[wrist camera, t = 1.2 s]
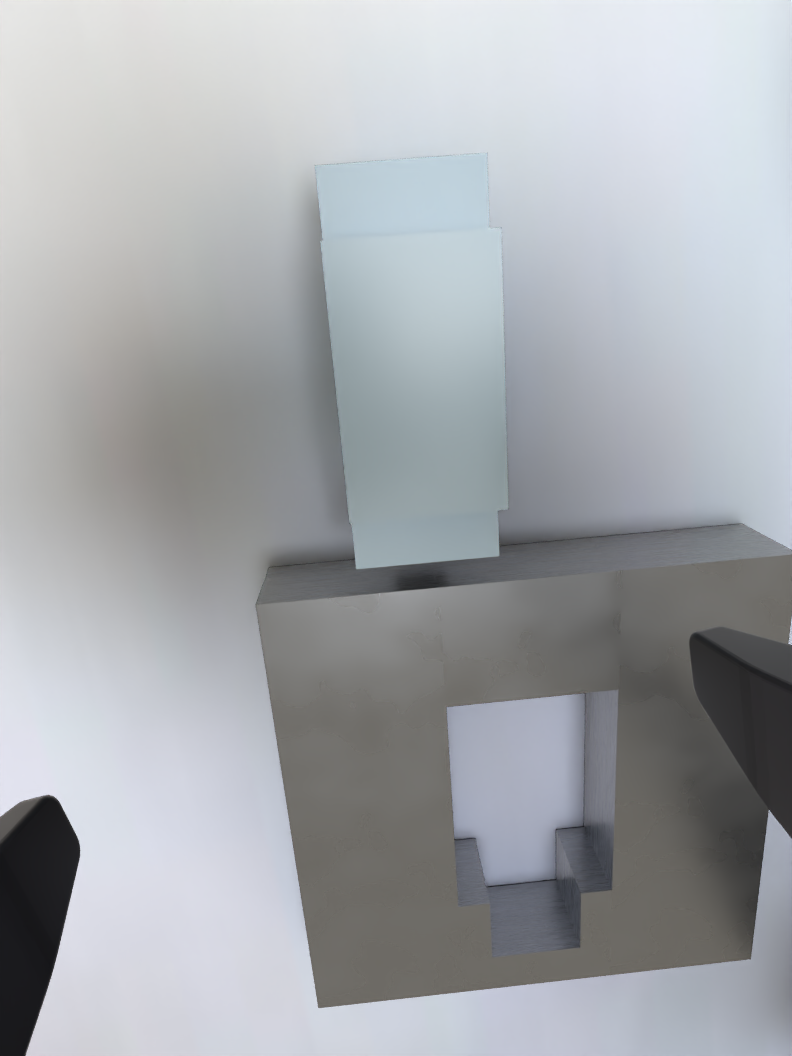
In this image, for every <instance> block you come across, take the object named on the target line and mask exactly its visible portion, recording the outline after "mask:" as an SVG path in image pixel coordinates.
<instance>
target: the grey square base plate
mask: <svg viewBox="0 0 792 1056" xmlns="http://www.w3.org/2000/svg"><path fill="white" fill-rule="evenodd" d="M256 610H257V616H258V623H259V629H260V636H261V642H262V649H263V655H264V661H265V668H266V674H267V681H268V687H269V694H270V700H271V706H272V713H273V719H274V726H275V732H276V739H277V745H278V751H279V758H280V764H281V771H282V777H283V784H284V790H285V796H286V803H287V809H288V816H289V822H290V829H291V835H292V841H293V848H294V854H295V861H296V867H297V873H298V880H299V886H300V893H301V899H302V906H303V912H304V918H305V925H306V931H307V938H308V944H309V951H310V957H311V963H312V970H313V976H314V983H315V989H316V996H317V1002H318V1008H324V1007H333V1006H342V1005H350V1004H359V1003H368V1002H377V1001H386V1000H395V999H403V998H412V997H421V996H430V995H439V994H447V993H456V992H465V991H474V990H483V989H491V988H500V987H509V986H518V985H527V984H535V983H544V982H553V981H562V980H571V979H580V978H588V977H597V976H606V975H615V974H624V973H632V972H641V971H650V970H659V969H668V968H676V967H685V966H694V965H703V964H712V963H720V962H729V961H738V960H747V959H751V952H752V944H753V936H754V927H755V919H756V910H757V902H758V894H759V885H760V877H761V868H762V860H763V852H764V843H765V835H766V826H767V818H768V810H769V809H768V807H767V806H766V805H765V803H764V802H763V801H762V799H761V798H760V797H759V795H758V794H757V792H756V791H755V789H754V788H753V786H752V785H751V783H750V782H749V780H748V779H747V777H746V775H745V774H744V772H743V771H742V769H741V767H740V766H739V764H738V763H737V761H736V759H735V758H734V756H733V754H732V753H731V751H730V750H729V748H728V746H727V745H726V743H725V742H724V740H723V738H722V737H721V735H720V734H719V732H718V730H717V729H716V727H715V726H714V724H713V722H712V721H711V719H710V718H709V716H708V714H707V713H706V711H705V710H704V708H703V706H702V705H701V703H700V701H699V699H698V697H697V695H696V692H695V689H694V684H693V676H692V667H691V658H690V649H689V639H690V636H691V634H692V633H694V632H696V631H700V630H704V629H708V628H712V627H716V626H723V627H727V628H731V629H734V630H738V631H742V632H746V633H749V634H753V635H757V636H760V637H764V638H768V639H771V640H775V641H779V642H782V643H786V644H788V642H789V633H790V625H791V616H792V550H791V549H789V548H787V547H785V546H783V545H781V544H780V543H778V542H776V541H774V540H772V539H770V538H768V537H766V536H764V535H763V534H761V533H759V532H757V531H755V530H753V529H751V528H749V527H747V526H746V525H744V524H733V525H722V526H711V527H701V528H690V529H679V530H668V531H657V532H646V533H635V534H625V535H614V536H603V537H592V538H581V539H570V540H560V541H549V542H538V543H527V544H516V545H505V546H499V556H496V557H485V558H474V559H464V560H453V561H442V562H431V563H420V564H409V565H398V566H388V567H377V568H366V569H356V562H355V559H354V560H343V561H332V562H321V563H310V564H299V565H288V566H278V567H269V568H268V571H267V574H266V577H265V580H264V583H263V585H262V588H261V591H260V594H259V597H258V600H257V603H256ZM581 693H586V702H585V776H584V827H578V828H568V829H559V830H556V880H551V881H541V882H532V883H523V884H514V885H505V886H495V887H486V884H485V880H484V875H483V871H482V867H481V862H480V858H479V854H478V849H477V845H476V840H475V838H474V839H465V840H455V841H454V827H453V810H452V794H451V778H450V762H449V745H448V729H447V713H446V707H451V706H461V705H471V704H481V703H491V702H501V701H511V700H521V699H531V698H541V697H551V696H561V695H571V694H581Z"/></svg>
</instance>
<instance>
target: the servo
mask: <svg viewBox="0 0 792 1056" xmlns="http://www.w3.org/2000/svg"><path fill="white" fill-rule="evenodd" d="M315 171H316V181H317V191H318V201H319V210H320V220H321V230H322V240H323V241H320V244H321V253H322V263H323V273H324V282H325V292H326V302H327V311H328V321H329V331H330V340H331V350H332V360H333V369H334V379H335V389H336V398H337V408H338V418H339V427H340V437H341V447H342V456H343V466H344V476H345V485H346V495H347V505H348V514H349V524H352V533H353V543H354V552H355V562H356V569H366V568H377V567H388V566H398V565H409V564H420V563H431V562H442V561H453V560H464V559H474V558H485V557H496V556H499V525H498V510H507V509H509V507H508V468H507V428H506V388H505V348H504V308H503V269H502V229H501V227H497V228H490V227H489V194H488V161H487V153H477V154H463V155H449V156H436V157H422V158H409V159H395V160H381V161H368V162H354V163H341V164H327V165H315Z"/></svg>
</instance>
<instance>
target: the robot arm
mask: <svg viewBox="0 0 792 1056" xmlns="http://www.w3.org/2000/svg"><path fill="white" fill-rule="evenodd" d="M689 649H690V658H691V667H692V676H693V684H694V689H695V692H696V695H697V697H698V699H699V701H700V703H701V705H702V706H703V708H704V710H705V711H706V713H707V714H708V716H709V718H710V719H711V721H712V722H713V724H714V726H715V727H716V729H717V730H718V732H719V734H720V735H721V737H722V738H723V740H724V742H725V743H726V745H727V746H728V748H729V750H730V751H731V753H732V754H733V756H734V758H735V759H736V761H737V763H738V764H739V766H740V767H741V769H742V771H743V772H744V774H745V775H746V777H747V779H748V780H749V782H750V783H751V785H752V786H753V788H754V789H755V791H756V792H757V794H758V795H759V797H760V798H761V799H762V801H763V802H764V803H765V805H766V806H767V807H768V809H769V810H770V811H771V813H772V814H773V815H774V816H775V818H776V819H777V820H778V822H779V823H780V824H781V825H782V827H783V828H784V829H785V831H786V832H787V833H788V834H789V836H790V837H791V838H792V645H790V644H786V643H782V642H779V641H775V640H771V639H768V638H764V637H760V636H757V635H753V634H749V633H746V632H742V631H738V630H734V629H731V628H727V627H723V626H716V627H712V628H708V629H704V630H700V631H696V632H694V633H692V634H691V636H690V639H689ZM79 858H80V845H79V841H78V838H77V836H76V834H75V832H74V830H73V828H72V826H71V824H70V822H69V820H68V818H67V816H66V814H65V812H64V810H63V808H62V806H61V804H60V803H59V801H58V800H57V799H56V798H55V797H54V796H51V795H45V796H41V797H37V798H33V799H29V800H25V801H22V802H20V803H18V804H17V805H15V806H14V807H13V808H11V809H10V810H9V811H7V812H6V813H5V814H4V815H2V816H1V817H0V1056H25V1055H26V1052H27V1049H28V1046H29V1043H30V1040H31V1037H32V1034H33V1031H34V1028H35V1025H36V1022H37V1019H38V1016H39V1013H40V1010H41V1007H42V1004H43V1001H44V998H45V995H46V992H47V989H48V985H49V982H50V979H51V976H52V972H53V969H54V965H55V961H56V957H57V953H58V949H59V945H60V941H61V936H62V932H63V928H64V923H65V919H66V915H67V911H68V906H69V902H70V898H71V893H72V889H73V885H74V880H75V876H76V872H77V867H78V863H79Z"/></svg>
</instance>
